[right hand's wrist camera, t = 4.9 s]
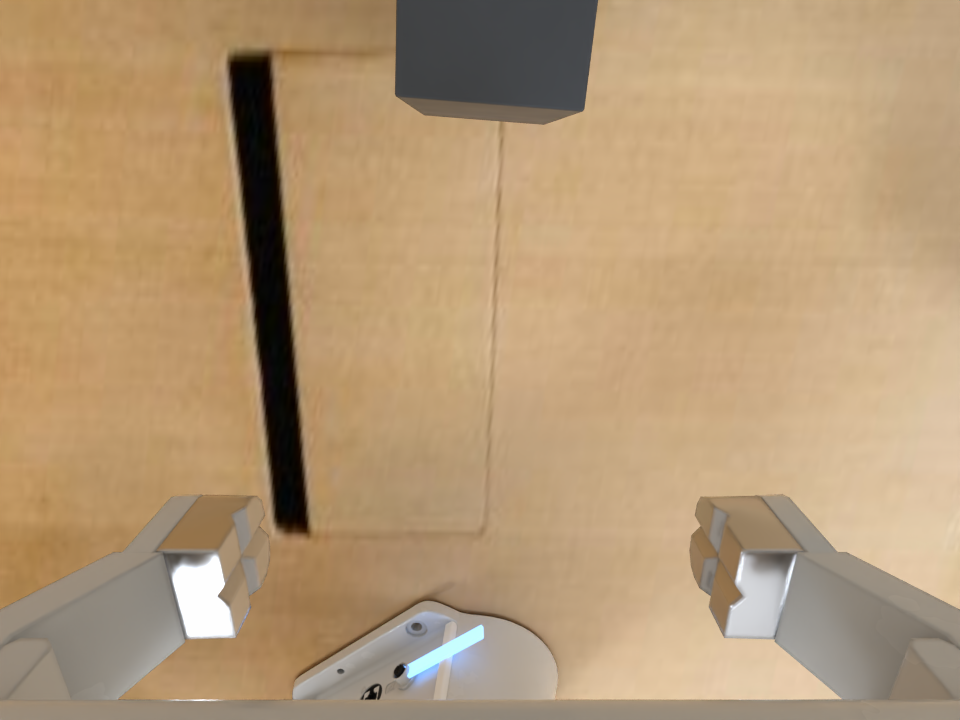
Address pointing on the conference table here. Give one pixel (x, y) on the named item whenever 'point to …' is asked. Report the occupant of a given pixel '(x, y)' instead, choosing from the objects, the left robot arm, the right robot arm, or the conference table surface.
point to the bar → (494, 58)
